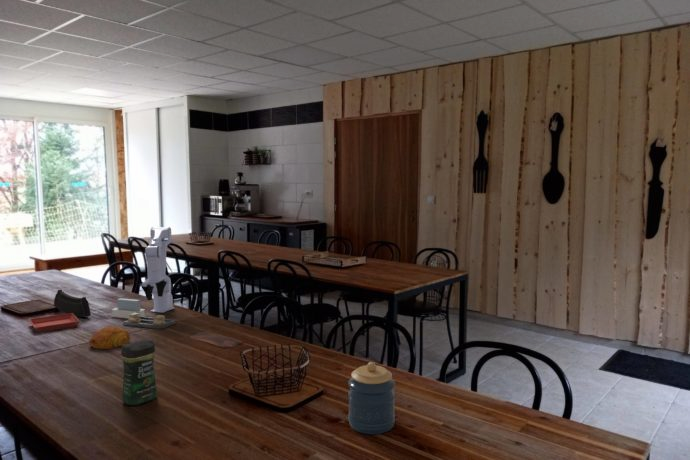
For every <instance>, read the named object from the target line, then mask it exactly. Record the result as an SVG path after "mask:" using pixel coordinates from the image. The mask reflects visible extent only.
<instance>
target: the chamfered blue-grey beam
mask: <svg viewBox="0 0 690 460" xmlns="http://www.w3.org/2000/svg"><path fill="white" fill-rule="evenodd" d="M116 300H117V301H116V302H117V303H116V304H117V307H116V308H118V310H127V311H140V309H141V300H140V299H132V298H122V297H121V298H117V299H116Z"/></svg>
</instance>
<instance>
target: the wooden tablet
mask: <svg viewBox="0 0 690 460" xmlns="http://www.w3.org/2000/svg"><path fill="white" fill-rule="evenodd" d="M189 337H190V338H191V339H193V340H196V341H199V342H202V343H207V344H210V345H213V346H215V347H217V348H222V349H231V348H232V347H235V346H240V345H242V344H243V343H244V341H243V340H240V339H238V338H237V339H236V338H232V337H229V336H226V335H221V334H216V333H212V332H207V331H200V332H197V333H195V334H192V335H190V336H189Z"/></svg>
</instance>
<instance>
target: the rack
mask: <svg viewBox="0 0 690 460" xmlns="http://www.w3.org/2000/svg"><path fill="white" fill-rule="evenodd" d="M153 322H154V317H149V316H146V317H142V316H140V323H137V322H128V319H126V320H124V321H123V323H122V325H123V326H130V327H136V328H137V327H140V328H147V329H155V330H156V329H157V330H163V329H166V328H168V327H171V326H172V325H175V324H176V319H167V318H165V324H163V325H155V324H153Z"/></svg>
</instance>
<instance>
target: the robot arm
mask: <svg viewBox="0 0 690 460" xmlns="http://www.w3.org/2000/svg"><path fill="white" fill-rule="evenodd" d="M149 236H150V238H151V239H150V241H149V244H148V246H147V247H145V250H144V254H145V262H146V268H147V269H146V270H147V279H146V280H145V281H142V282H141V289H142V290H143V292H144V294H145V296H146V300H147V301H152V299H153V309H151V310H150V312H154V313H163V314H164V313H166V312H167V311H168V312H169V311H170V310H174V309H175V307H174V303H173V302H174V301H173V300H174V299H173V294H172V293H171V290H172V282H171V277H170V276H168V275H167V274H166V271H167V270H166V267H167V249H168V245H170V244H171V243H172V242H171V241H172V228H171V226H164V227H163V226H157V227H155V226H151V228H150V235H149Z"/></svg>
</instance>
